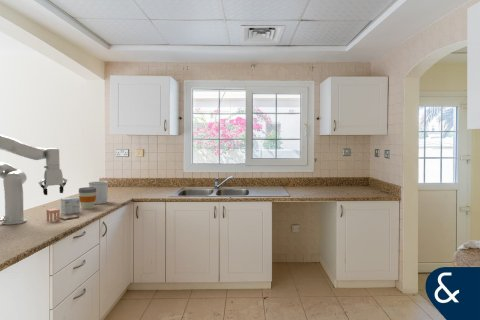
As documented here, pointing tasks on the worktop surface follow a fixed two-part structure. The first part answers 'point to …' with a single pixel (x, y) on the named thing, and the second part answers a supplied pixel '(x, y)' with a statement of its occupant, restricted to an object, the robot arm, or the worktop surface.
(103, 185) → the utensil holder
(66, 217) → the walnut board
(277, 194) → the worktop surface
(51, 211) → the pink notched block
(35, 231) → the worktop surface
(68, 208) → the light bulb box
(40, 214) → the worktop surface
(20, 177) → the robot arm
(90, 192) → the reusable coffee cup
